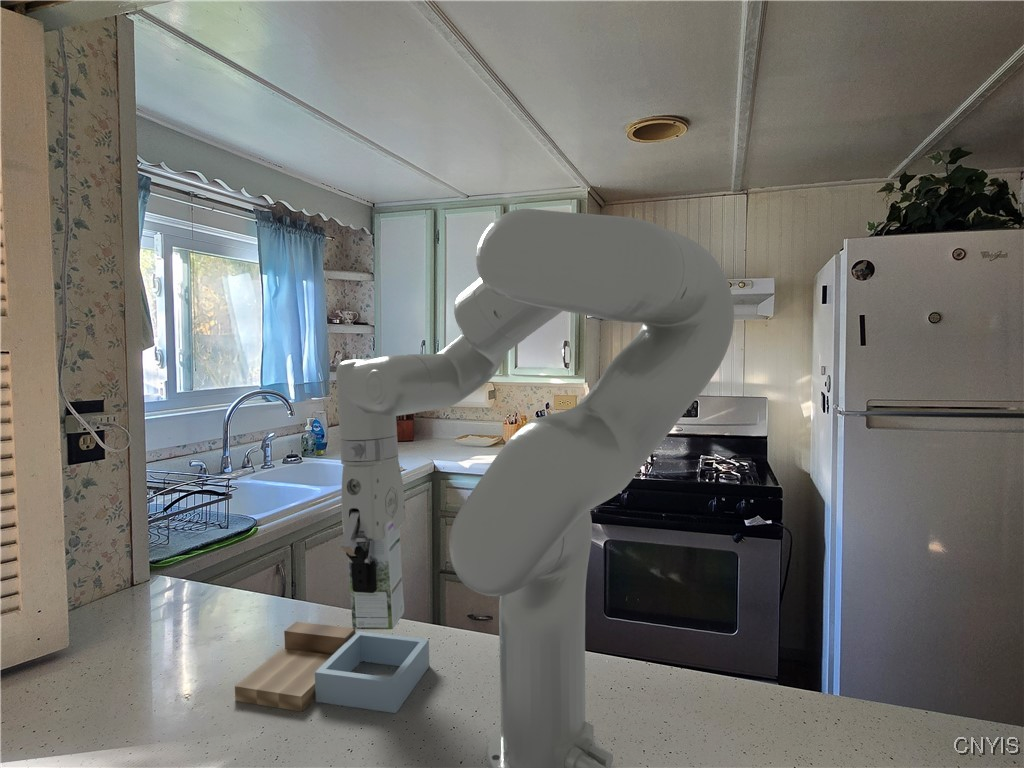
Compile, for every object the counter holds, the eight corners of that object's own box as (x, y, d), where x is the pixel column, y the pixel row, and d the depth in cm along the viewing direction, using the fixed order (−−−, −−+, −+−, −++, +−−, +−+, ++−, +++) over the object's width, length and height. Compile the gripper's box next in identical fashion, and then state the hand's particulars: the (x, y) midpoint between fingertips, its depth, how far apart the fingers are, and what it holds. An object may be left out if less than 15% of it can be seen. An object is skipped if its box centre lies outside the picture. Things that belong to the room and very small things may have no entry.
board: (343, 669, 85) (342, 656, 85) (301, 711, 76) (301, 696, 76) (282, 661, 88) (282, 648, 88) (235, 700, 78) (234, 686, 78)
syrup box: (405, 612, 83) (400, 510, 83) (393, 631, 78) (387, 522, 77) (366, 612, 84) (360, 511, 83) (350, 631, 78) (344, 522, 77)
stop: (356, 657, 89) (355, 628, 88) (346, 668, 86) (345, 638, 86) (297, 650, 91) (296, 621, 91) (285, 660, 88) (284, 630, 88)
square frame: (429, 665, 86) (428, 639, 86) (395, 713, 75) (395, 682, 75) (358, 657, 89) (357, 631, 89) (315, 701, 78) (314, 672, 78)
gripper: (364, 461, 70) (373, 610, 71) (420, 440, 87) (426, 560, 88) (308, 462, 72) (317, 606, 73) (373, 441, 89) (380, 559, 90)
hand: (376, 580), depth 80 cm, fingers closed on syrup box, 6 cm apart
